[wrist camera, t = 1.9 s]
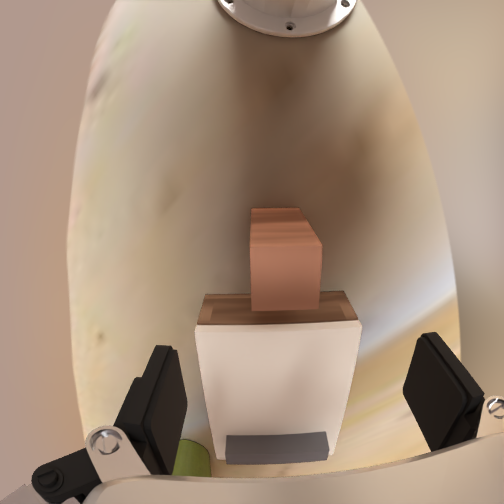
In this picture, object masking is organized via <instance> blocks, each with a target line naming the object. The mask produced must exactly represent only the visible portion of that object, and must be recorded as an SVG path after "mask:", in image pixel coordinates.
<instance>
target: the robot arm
mask: <svg viewBox="0 0 504 504" xmlns="http://www.w3.org/2000/svg"><path fill="white" fill-rule="evenodd" d="M230 1H231V2H233V3H230V4H229V3H228V2H230ZM356 1H357V0H218V2H219V4H220V5H221V7H222V8H223V9H224V10H225V11H226V12H227V13H228V14H229V15H230V16H231V17H232V18H234V19H235V20H236V21H238V22H239V23H241V24H243V25H245V26H247V27H248V28H250V29H253V30H256V31H258V32H261V33H264V34H269V35H274V36H278V37H293V38H294V37H306V36H311V35H316V34H320V33H323V32H325V31H327V30H330V29H332V28H334V27H335V26H336V25H338V24H339V23H341V22H342V21H343V20H344V19H345V18H346V17H347V16H348V15H349V14H350V12H351V11H352V10H353V8H354V6H355V4H356ZM341 5H343V6H345V7H343V6H341ZM287 27H291V28H292V30H287V29H286V28H287ZM403 395H404V397H405V399H406V401H407V403H408V405H409V407H410V409H411V411H412V413H413V415H414V417H415V419H416V421H417V423H418V425H419V427H420V429H421V431H422V433H423V435H424V437H425V440H426V442H427V444H428V446H429V448H430V450H431V452H429V453H426V454H422V455H419V456H415V457H411V458H407V459H403V460H399V461H394V462H390V463H385V464H380V465H375V466H370V467H364V468H359V469H353V470H346V471H339V472H332V473H324V474H314V475H304V476H291V477H272V478H212V477H193V476H174V475H172V473H173V469H174V465H175V460H176V455H177V451H178V446H179V442H180V437H181V433H182V428H183V424H184V419H185V415H186V411H187V397H186V392H185V388H184V383H183V378H182V373H181V368H180V363H179V358H178V353H177V350H173V349H172V346H166V345H156V346H155V348H154V351H153V353H152V355H151V357H150V360H149V362H148V364H147V366H146V369H145V371H144V373H143V376H142V377H136V378H135V379H134V381H133V383H132V385H131V387H130V389H129V391H128V394H127V396H126V398H125V400H124V403H123V405H122V407H121V409H120V412H119V414H118V416H117V419H116V421H115V423H114V425H113V426H102V427H98V428H96V429H94V430H93V431H91V432H90V433H89V434H88V436H87V438H86V441H85V445H86V448H84V449H81V450H79V451H77V452H74V453H72V454H69V455H67V456H64V457H62V458H59V459H57V460H54V461H52V462H49V463H46V464H44V465H42V466H40V467H38V468H37V469H36V470H35V471H34V473H33V475H32V480H31V481H32V483H31V484H30V485H28V486H26V485H25V484H24V485H22V486H21V487H20V488H19V489H17V490H16V491H14V492H13V493H11V494H10V495H8V496H7V497H6V498H4V499H3V500H1V501H0V504H504V398H503V397H501V396H491V397H489V398H487V399H486V400H485V399H484V397H483V396H484V392H483V391H482V390H481V388H480V387H479V386H478V384H477V383H476V382H475V380H474V379H473V377H471V375H470V374H469V372H468V371H467V370H466V369H465V367H464V366H463V365H462V363H461V362H460V361H459V359H458V358H457V357H456V356H455V354H454V353H453V352H452V351H451V349H450V348H449V347H448V346H447V345H446V343H445V342H444V341H443V340H442V338H441V337H440V336H439V335H438V334H437V333H436V332H431V333H424V334H422V335H421V337H420V338H418V340H417V343H416V346H415V350H414V354H413V357H412V360H411V364H410V367H409V370H408V374H407V377H406V380H405V383H404V386H403Z"/></svg>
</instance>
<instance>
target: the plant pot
mask: <svg viewBox="0 0 504 504" xmlns="http://www.w3.org/2000/svg"><path fill="white" fill-rule="evenodd" d="M172 475H174V476H193V477H211V468H210V458H209V454H208V452H207V450H206V449H205V448H204V447H203V446H201V445H199V444H198V443H195V442H192V441H189V440H184V439H183V440H180V442H179V446H178V451H177V455H176V460H175V465H174V469H173V473H172Z"/></svg>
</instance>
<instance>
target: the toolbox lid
mask: <svg viewBox="0 0 504 504" xmlns="http://www.w3.org/2000/svg"><path fill="white" fill-rule="evenodd" d="M361 332H362V325H361V323H360V321H359V320H354V321H339V322H322V323H302V324H274V325H196V328H195V332H194V333H195V340H196V347H197V353H198V360H199V366H200V372H201V378H202V384H203V390H204V396H205V402H206V407H207V413H208V418H209V423H210V429H211V434H212V439H213V444H214V449H215V453H216V458H217V459H221V460H226V463H227V464H246V465H250V464H285V463H301V462H312V461H322V460H327V458H328V455H333V453H334V450H335V446H336V443H337V439H338V436H339V432H340V428H341V424H342V421H343V417H344V413H345V409H346V405H347V400H348V396H349V392H350V388H351V383H352V379H353V374H354V369H355V364H356V359H357V354H358V349H359V344H360V338H361Z"/></svg>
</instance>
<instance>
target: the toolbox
mask: <svg viewBox="0 0 504 504" xmlns="http://www.w3.org/2000/svg"><path fill="white" fill-rule="evenodd" d="M354 320H358V317H357V315H356V313H355V311H354V310H353V308H352V306H351V304H350V302H349V300H348V298H347V296H346V295H345V293H344V291H330V292H320V297H319V309H307V310H279V311H252V306H251V294H213V295H205V298H204V301H203V305H202V308H201V311H200V315H199V318H198V322H197V325H274V324H302V323H322V322H339V321H354Z"/></svg>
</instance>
